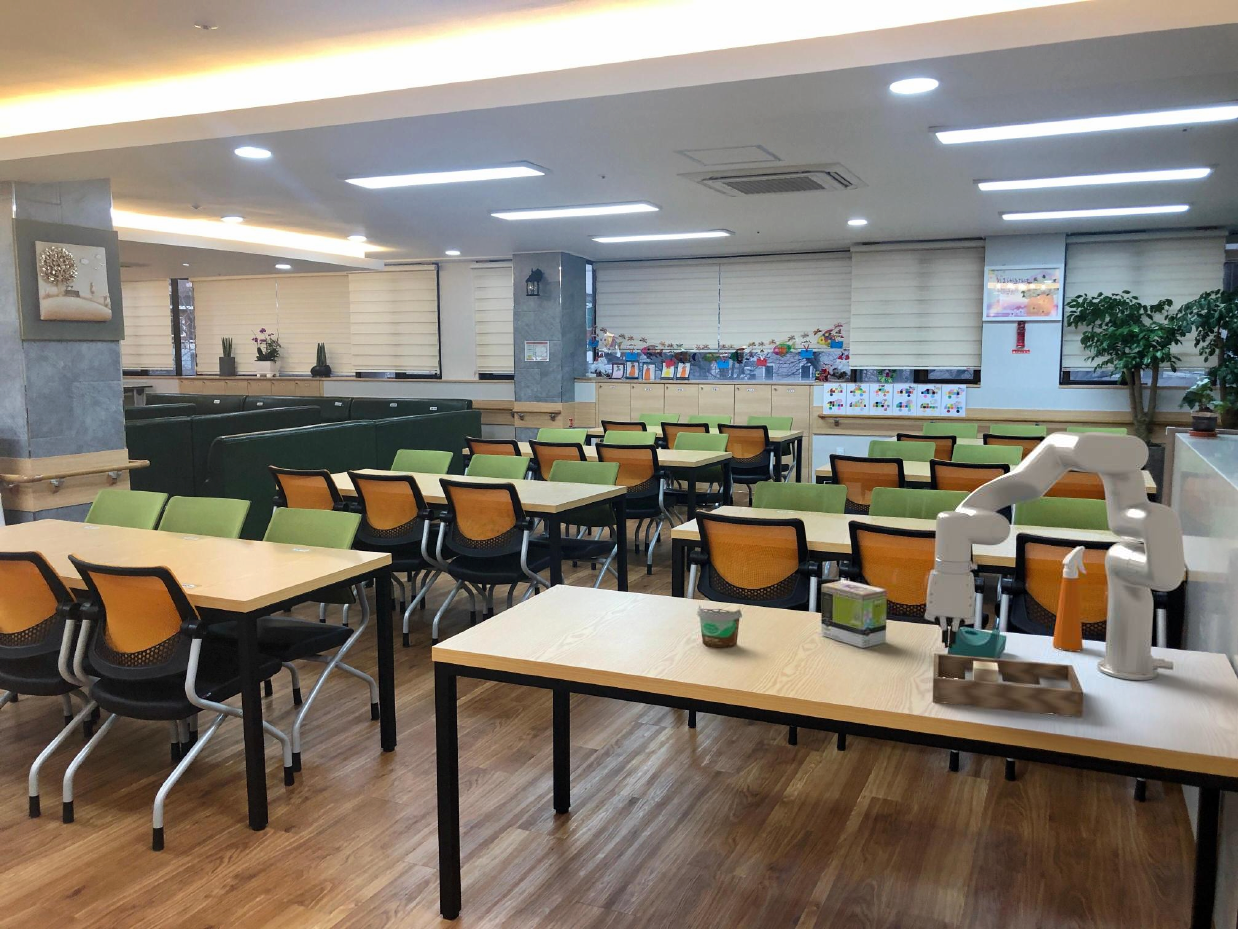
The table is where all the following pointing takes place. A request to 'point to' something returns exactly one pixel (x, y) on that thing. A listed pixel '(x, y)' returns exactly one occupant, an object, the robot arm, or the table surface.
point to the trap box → (1009, 685)
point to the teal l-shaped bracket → (978, 643)
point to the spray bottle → (1070, 604)
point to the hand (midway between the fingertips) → (948, 646)
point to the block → (985, 671)
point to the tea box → (854, 613)
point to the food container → (719, 627)
